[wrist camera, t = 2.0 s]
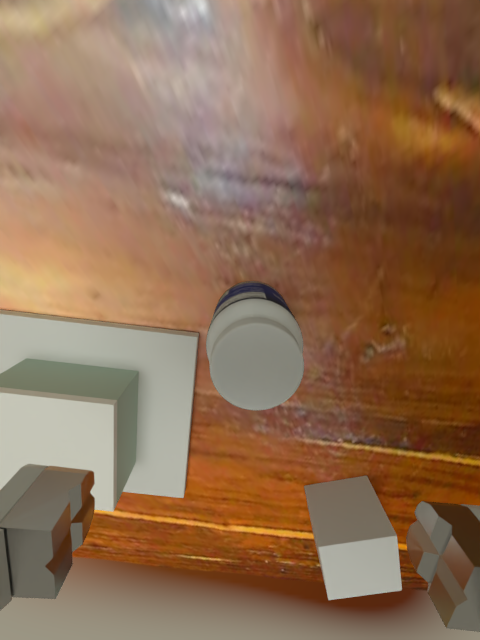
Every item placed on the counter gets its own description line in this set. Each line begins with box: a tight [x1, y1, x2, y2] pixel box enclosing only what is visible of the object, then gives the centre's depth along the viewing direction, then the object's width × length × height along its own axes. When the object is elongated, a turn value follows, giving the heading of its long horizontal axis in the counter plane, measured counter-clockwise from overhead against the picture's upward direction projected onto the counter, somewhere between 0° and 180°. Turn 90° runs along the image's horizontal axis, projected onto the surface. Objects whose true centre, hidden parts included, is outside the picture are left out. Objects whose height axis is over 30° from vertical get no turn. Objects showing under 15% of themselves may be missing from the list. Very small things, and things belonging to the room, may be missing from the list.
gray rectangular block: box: [304, 476, 402, 600], centre depth 27 cm, size 6×6×6 cm
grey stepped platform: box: [0, 310, 199, 511], centre depth 24 cm, size 18×16×6 cm
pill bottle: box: [206, 281, 304, 410], centre depth 20 cm, size 6×6×10 cm
